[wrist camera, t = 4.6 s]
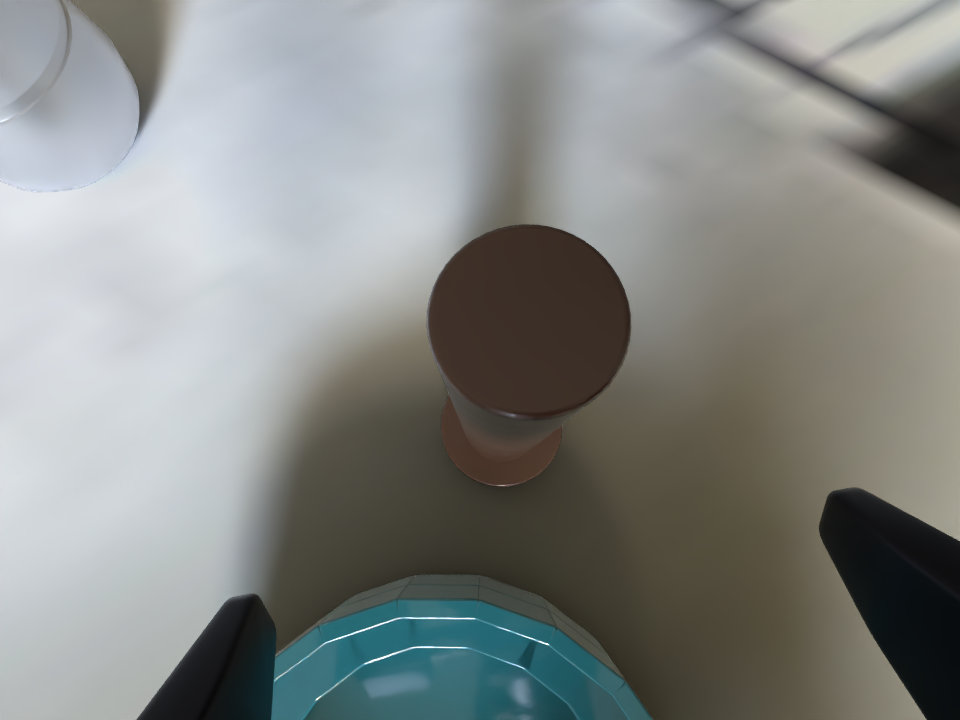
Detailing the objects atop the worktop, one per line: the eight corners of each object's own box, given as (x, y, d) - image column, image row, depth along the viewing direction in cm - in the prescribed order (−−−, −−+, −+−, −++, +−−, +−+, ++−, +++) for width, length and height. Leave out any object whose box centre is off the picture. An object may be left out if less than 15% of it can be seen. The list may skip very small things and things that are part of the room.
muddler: (565, 467, 19) (754, 427, 6) (465, 500, 19) (413, 538, 6) (531, 369, 20) (628, 126, 7) (434, 399, 20) (322, 216, 6)
